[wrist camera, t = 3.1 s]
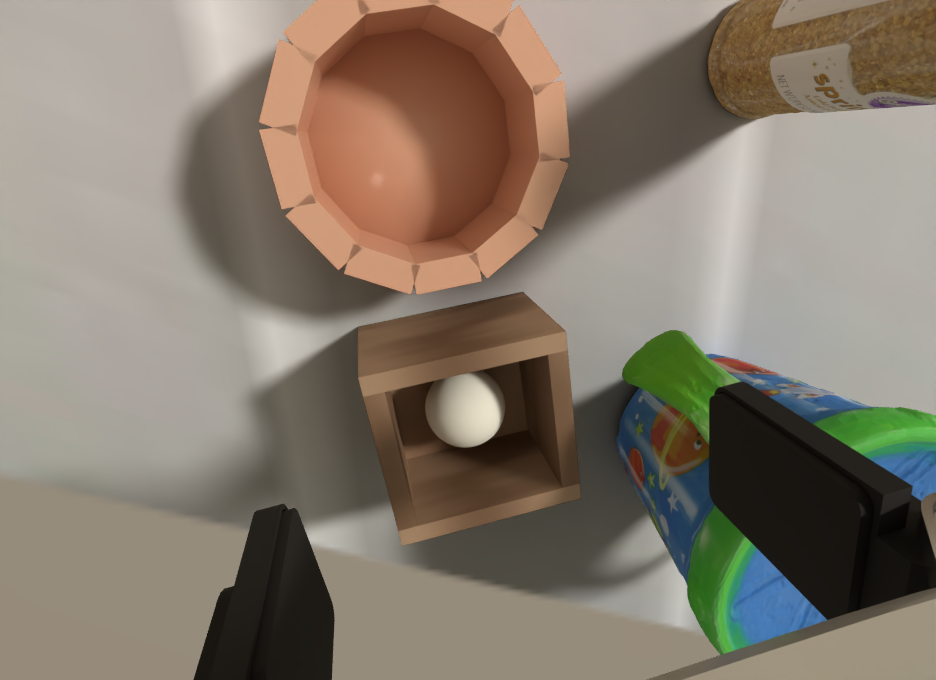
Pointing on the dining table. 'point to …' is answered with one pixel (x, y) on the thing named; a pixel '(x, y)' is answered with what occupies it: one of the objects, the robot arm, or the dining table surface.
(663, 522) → the snack cup
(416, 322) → the walnut box
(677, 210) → the dining table surface
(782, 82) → the sprinkles bottle
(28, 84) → the dining table surface
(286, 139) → the pot
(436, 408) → the ball
